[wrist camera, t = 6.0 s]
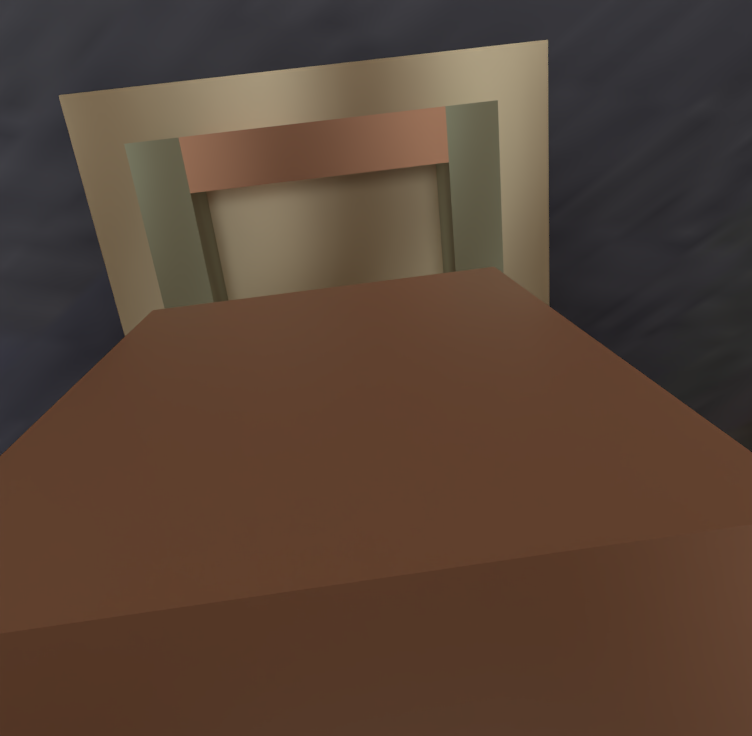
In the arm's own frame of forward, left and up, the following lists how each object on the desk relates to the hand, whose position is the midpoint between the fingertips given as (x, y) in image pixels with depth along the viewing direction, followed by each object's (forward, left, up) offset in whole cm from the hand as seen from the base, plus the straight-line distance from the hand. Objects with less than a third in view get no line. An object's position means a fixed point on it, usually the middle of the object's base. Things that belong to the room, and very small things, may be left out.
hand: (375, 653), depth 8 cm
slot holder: (0, 0, -11) cm, 11 cm away
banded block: (0, 0, -1) cm, 1 cm away
